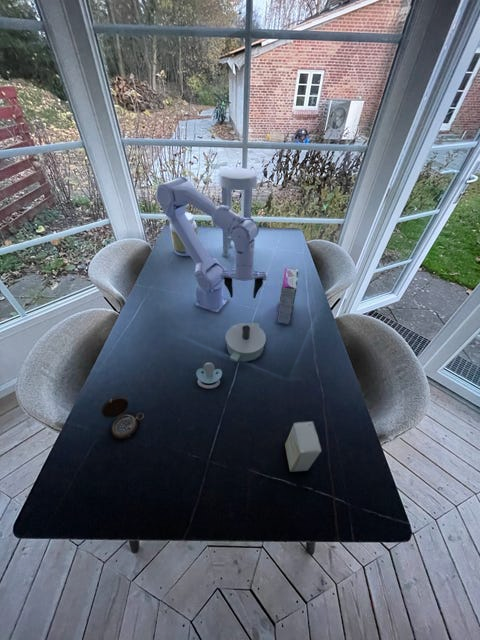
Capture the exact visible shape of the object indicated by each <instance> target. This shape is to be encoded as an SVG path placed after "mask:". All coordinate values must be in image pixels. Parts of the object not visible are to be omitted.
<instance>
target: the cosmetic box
mask: <svg viewBox="0 0 480 640" xmlns="http://www.w3.org/2000/svg"><path fill="white" fill-rule="evenodd" d="M284 447H285V452H286V453H285V454H286V458H287V463H288V468H289V472H292V473H294V472H306V471H307V472H308V471H309V469H310V468H311V467H312V466H313V464H314V462H315V461H316V459H317V458H318V457H319V456H320V454H321V452H322V446H321V444H320V440H319V436H318V433H317V429H316V426H315V424H314V421H313V420H312V421H297V422H294V423H293V425H292V427H291V429H290V431H289V434H288V437H287V439H286V441H285V443H284Z"/></svg>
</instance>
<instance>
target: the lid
mask: <svg viewBox="0 0 480 640" xmlns="http://www.w3.org/2000/svg"><path fill="white" fill-rule="evenodd" d="M225 342H226V346H227V345H228V346H229V347H230V348H231V349H232V350H234V351H236V352H238V353H242V354H251V353H255V352H257V351H259V350H260V349H262V348H263V346H265V345H266V342H267V336H266V333H265V332H264V330H263V329H262V328H261V327H260V326H259V327H258V326H256V325H254V324H252V323H250V322H242V323H241V322H240V323H237V324H234V325H232V326H230V327H229V329H228V330H227V331H226V333H225ZM263 349H264V348H263Z"/></svg>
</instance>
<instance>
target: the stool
mask: <svg viewBox="0 0 480 640" xmlns="http://www.w3.org/2000/svg"><path fill="white" fill-rule="evenodd" d="M217 182H218V183H217V184H218V185H219V186H220V187H221V205H224V206H226V205H227V206H228V207H230V210H232V209H233V205H232V204H233V203H232V201H233V199H232V198H233V197H232V195H233V191H234V190H235V191H243V218H251V219H252V206H253V189H254V188H256V187H257V184H258V172H256V171H255V170H253V169H249V168H242V167H232V168H231V167H230V168H225V169H221V170H220V171H219V172H218V174H217ZM232 211H233V210H232ZM232 242H233V241H232V239H231V235H230V234H228V233H227V232H225V231H224V230H222V256H223V257H229V254H230V253H229V250H230V248H232V245H233V243H232Z"/></svg>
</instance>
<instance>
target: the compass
mask: <svg viewBox="0 0 480 640" xmlns="http://www.w3.org/2000/svg"><path fill="white" fill-rule="evenodd" d="M128 408H129V401H128V399H127V398H126V397H125V396H114V397H111V398H110V399H108V400H107V401H105V402H104V403H103V404H102V406H101V411H100V412H101V415H102V416H103V417H104V418H107V419H113V418H115V419H114V421H113V422H112V423H111V427H110V433H111V435H112V436H113V437H114V438H116V439H118V440H123V439H126V438H130V436H132V435H133V434H134V433H135V431H137V428H138V421H141V420H142V419H143V418H144V417H145V416H144V413H143V412H139V413H137V414H136V416H135V415H134V414H132V413H125V412H126V411H127V410H128ZM141 414H142V418H139V415H141Z"/></svg>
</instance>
